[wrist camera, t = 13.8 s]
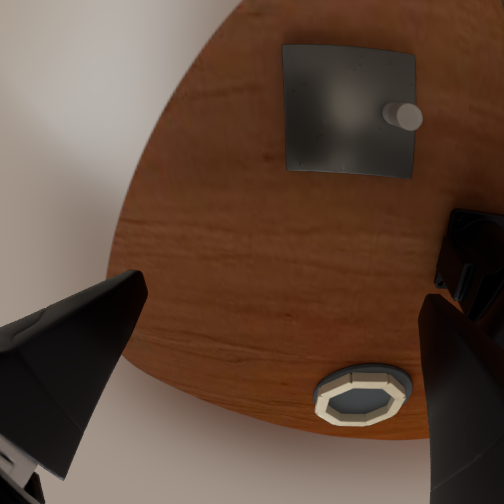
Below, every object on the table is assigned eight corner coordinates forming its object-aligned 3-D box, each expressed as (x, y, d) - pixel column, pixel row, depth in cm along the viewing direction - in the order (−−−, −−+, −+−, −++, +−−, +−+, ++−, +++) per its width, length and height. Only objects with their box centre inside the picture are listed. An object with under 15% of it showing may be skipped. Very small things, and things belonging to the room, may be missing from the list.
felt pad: (426, 363, 24) (427, 366, 23) (394, 417, 29) (394, 420, 29) (319, 360, 26) (319, 364, 26) (309, 415, 32) (308, 418, 31)
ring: (414, 372, 24) (415, 381, 23) (387, 418, 29) (388, 425, 28) (322, 370, 26) (321, 379, 25) (312, 416, 31) (311, 424, 30)
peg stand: (410, 56, 13) (436, 46, 9) (407, 175, 17) (429, 197, 13) (283, 47, 15) (271, 31, 11) (287, 167, 18) (278, 186, 15)
